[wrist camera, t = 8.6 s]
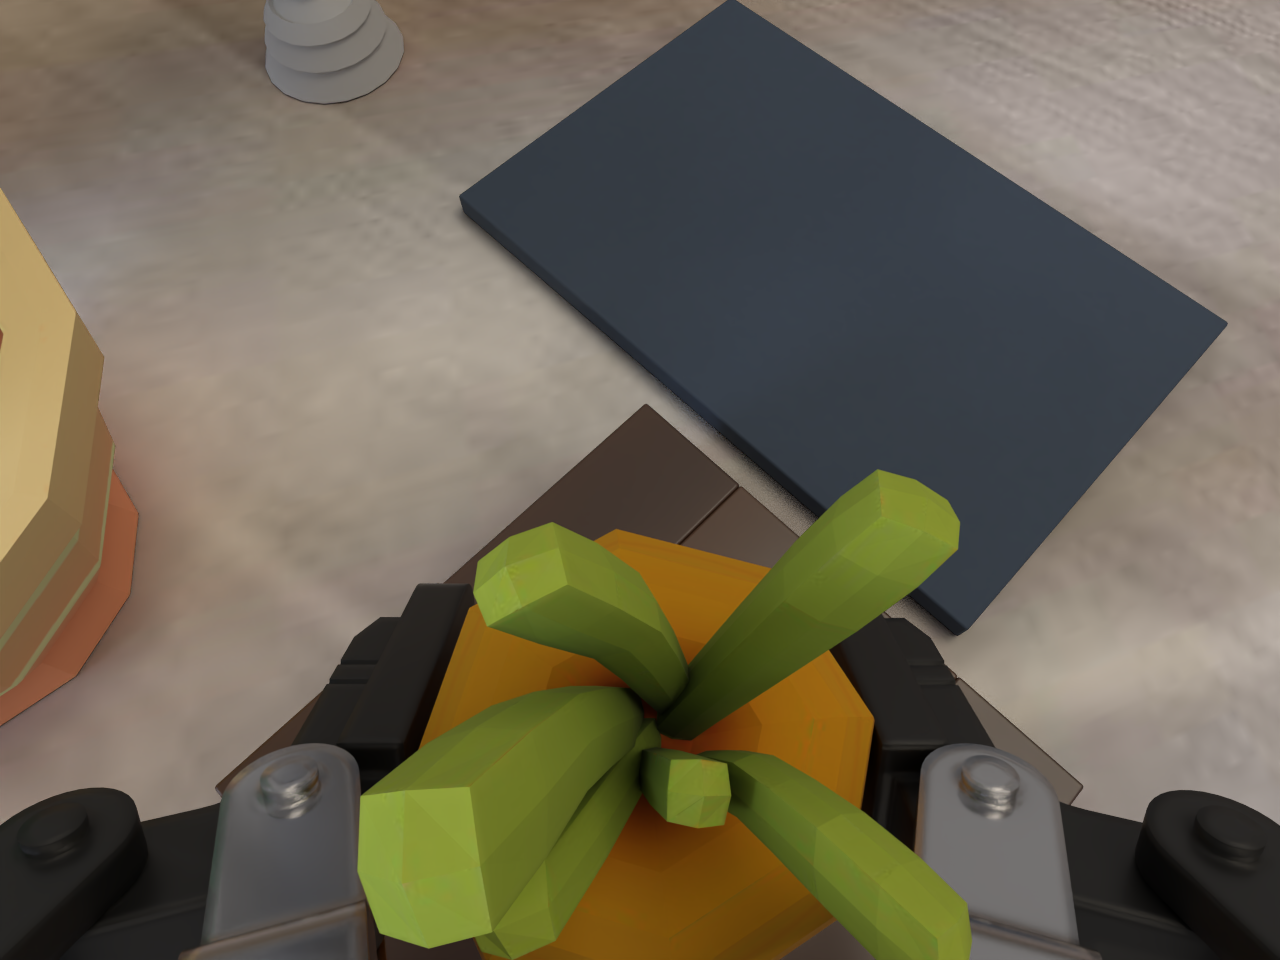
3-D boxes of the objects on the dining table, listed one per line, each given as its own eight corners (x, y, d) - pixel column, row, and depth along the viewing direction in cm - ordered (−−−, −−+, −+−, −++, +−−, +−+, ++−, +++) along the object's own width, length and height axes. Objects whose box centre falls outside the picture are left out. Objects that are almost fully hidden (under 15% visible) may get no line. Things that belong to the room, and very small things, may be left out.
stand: (300, 796, 20) (211, 786, 16) (645, 477, 24) (645, 401, 19) (648, 1241, 17) (650, 1373, 13) (995, 796, 20) (1085, 786, 16)
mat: (462, 212, 27) (457, 195, 27) (729, 15, 31) (731, -4, 30) (956, 637, 22) (967, 630, 21) (1213, 337, 25) (1229, 322, 25)
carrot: (733, 667, 19) (979, 230, 5) (775, 906, 17) (1331, 1190, 3) (518, 695, 19) (192, 315, 5) (536, 942, 17) (84, 1408, 3)
